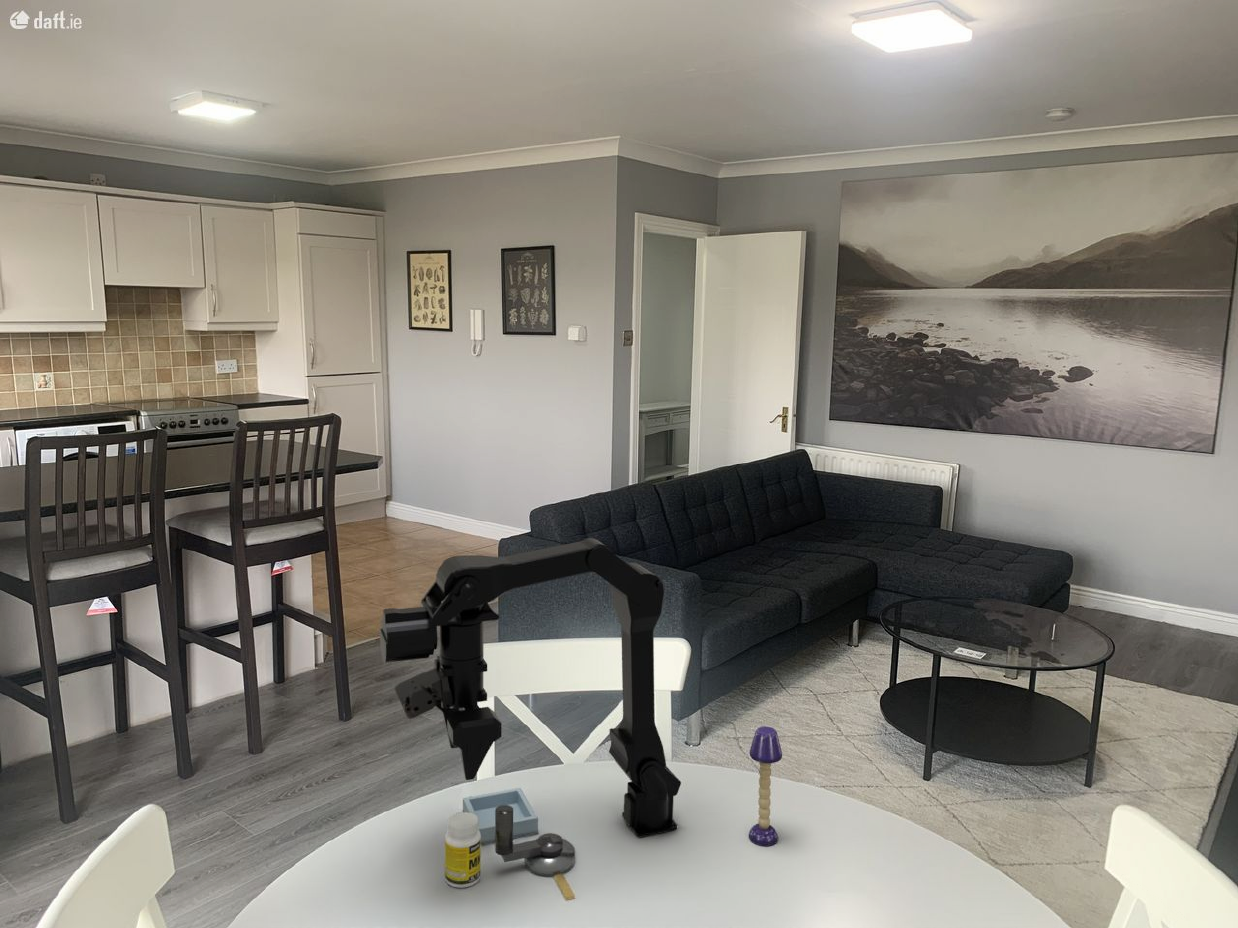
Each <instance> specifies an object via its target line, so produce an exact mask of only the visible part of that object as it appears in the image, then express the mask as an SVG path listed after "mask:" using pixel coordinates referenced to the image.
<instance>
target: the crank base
mask: <svg viewBox="0 0 1238 928" xmlns="http://www.w3.org/2000/svg"><path fill="white" fill-rule="evenodd" d="M537 839H538V838H536V839H535V840H537ZM562 839H563V850H562V852H561V853H560V854H558V855H556V856H543V855H537V856H532V857H528V858H523V864H524V868H526V870H527V871H528V872H529V873H531V874H533V875H536V876H538V877H545V878H551V877H552V878H554V881H555V882H556V885H557V887H558V888H559V890H560V891H561V894H562V895H563V897H564V899H565V901H569V900H573V899H576V895H575V893H574V891H573V889H572V888H571V886H570V884H569V882H568V880H567V879H566V877H565V876H564V874H567V873H569V872H570V871H572V868H574V866H575V863H576V848H575V847H574V845H573V844H572V843H571V842H570V841H569V840H567V839H565V838H562Z"/></svg>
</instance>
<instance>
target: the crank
mask: <svg viewBox="0 0 1238 928" xmlns="http://www.w3.org/2000/svg"><path fill="white" fill-rule="evenodd" d="M536 839H537V840H536ZM536 839H533V840H528V841H524V842H518V843H514V839H513V808H512V807H511V806H508V805H502V806H499V807H497V808H496V809H495V842H494V852H495V854H497V855H498V856H501V858H502V861H503V863H508V862H513V861H517V860H522V859H523V860H524V858H528V857H532V856H537V855H543V856H556V855H558V854H560V853H561V852H562V850H563V839H564V838H563V837H562V836H560V835H559V834H557V833H552V832H550V833H549V832H548V833H544V834H541V835H539V836H538V838H536Z"/></svg>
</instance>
